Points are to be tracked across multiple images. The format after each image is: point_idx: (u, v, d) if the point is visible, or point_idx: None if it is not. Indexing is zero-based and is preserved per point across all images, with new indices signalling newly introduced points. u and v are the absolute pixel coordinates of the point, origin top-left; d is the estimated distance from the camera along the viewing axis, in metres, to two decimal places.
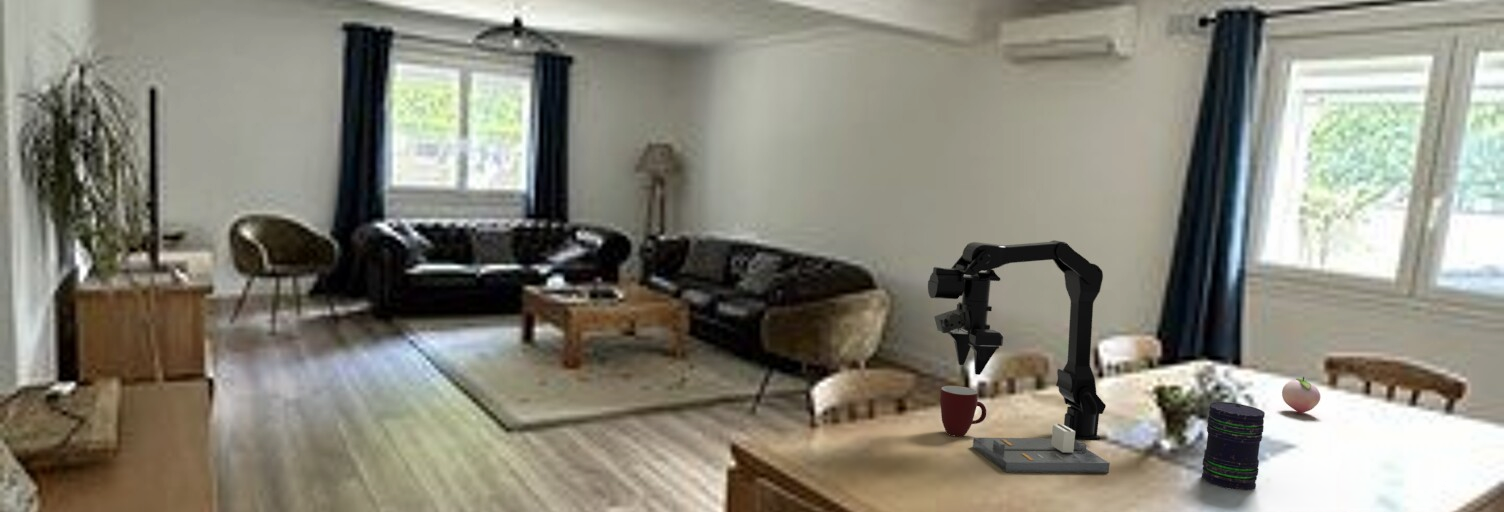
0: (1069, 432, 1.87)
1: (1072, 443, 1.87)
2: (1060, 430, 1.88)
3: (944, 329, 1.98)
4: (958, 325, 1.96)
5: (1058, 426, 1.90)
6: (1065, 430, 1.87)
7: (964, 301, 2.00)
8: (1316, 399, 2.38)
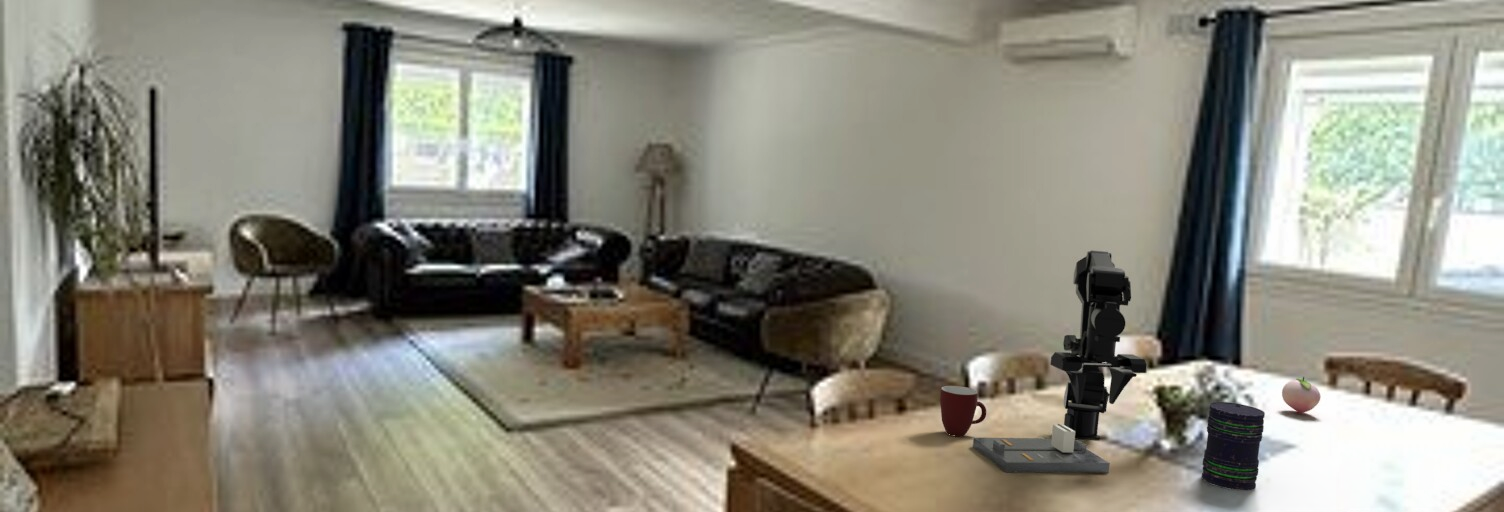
0: (1069, 432, 1.87)
1: (1072, 443, 1.87)
2: (1060, 430, 1.88)
3: None
4: (1068, 347, 1.93)
5: (1058, 426, 1.90)
6: (1065, 430, 1.87)
7: None
8: (1316, 399, 2.38)
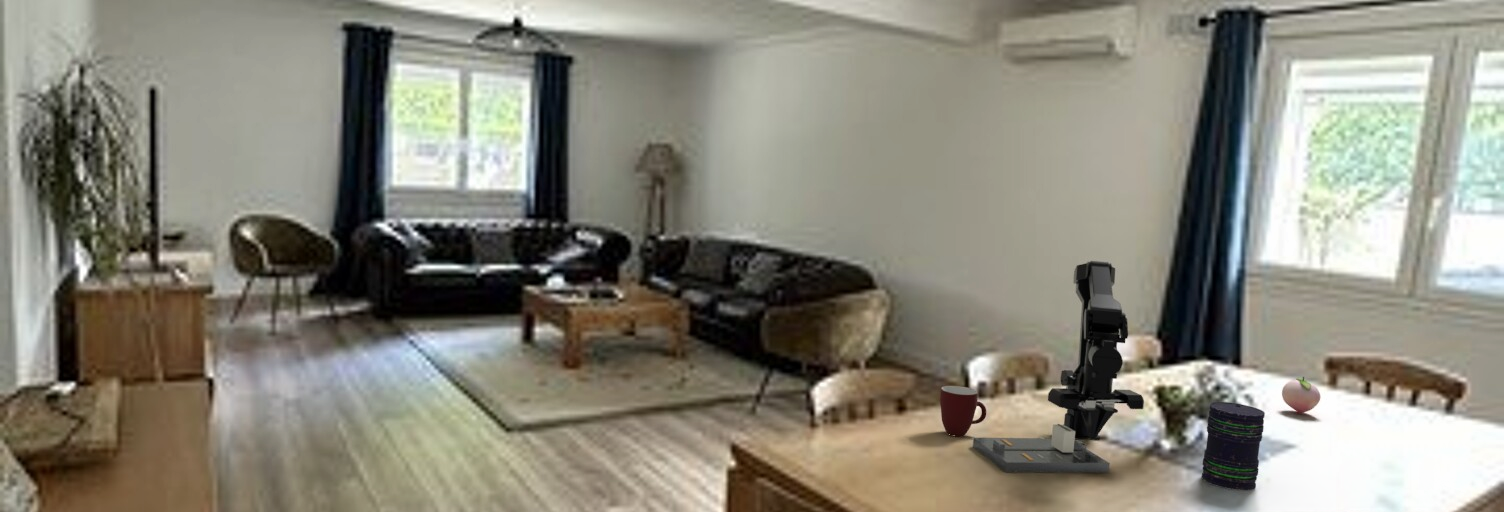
0: (1069, 432, 1.87)
1: (1072, 443, 1.87)
2: (1060, 430, 1.88)
3: None
4: (1065, 382, 1.94)
5: (1058, 426, 1.90)
6: (1065, 430, 1.87)
7: None
8: (1316, 399, 2.38)
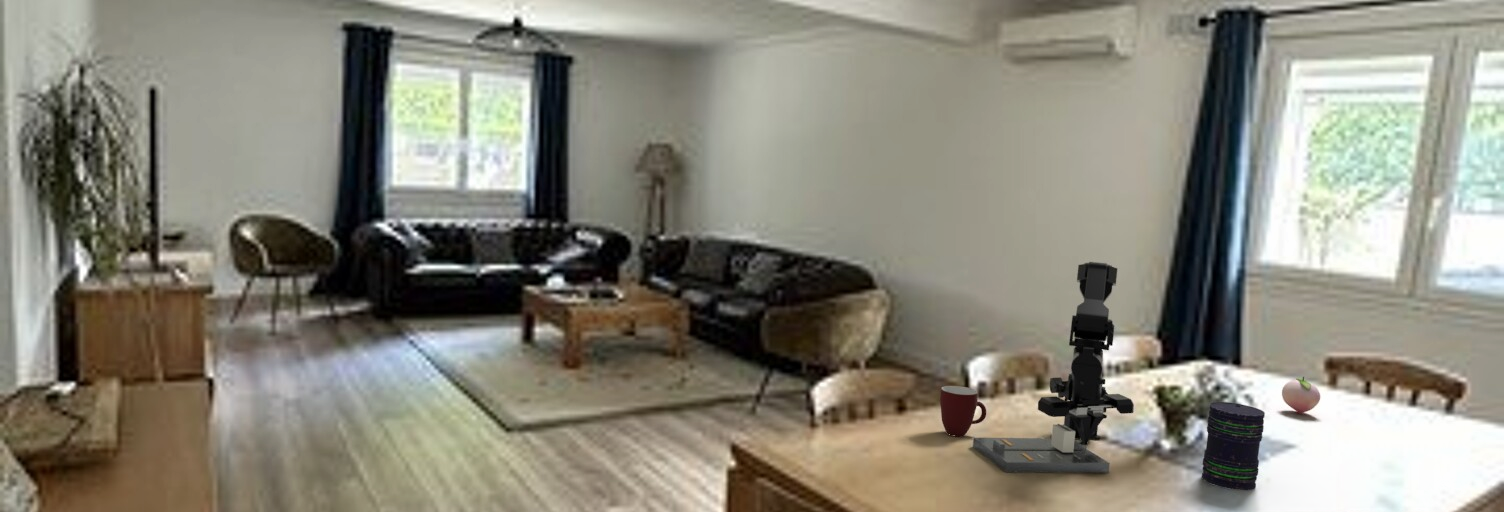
0: (1069, 432, 1.87)
1: (1072, 443, 1.87)
2: (1060, 430, 1.88)
3: None
4: (1054, 390, 1.93)
5: (1058, 426, 1.90)
6: (1065, 430, 1.87)
7: None
8: (1316, 399, 2.38)
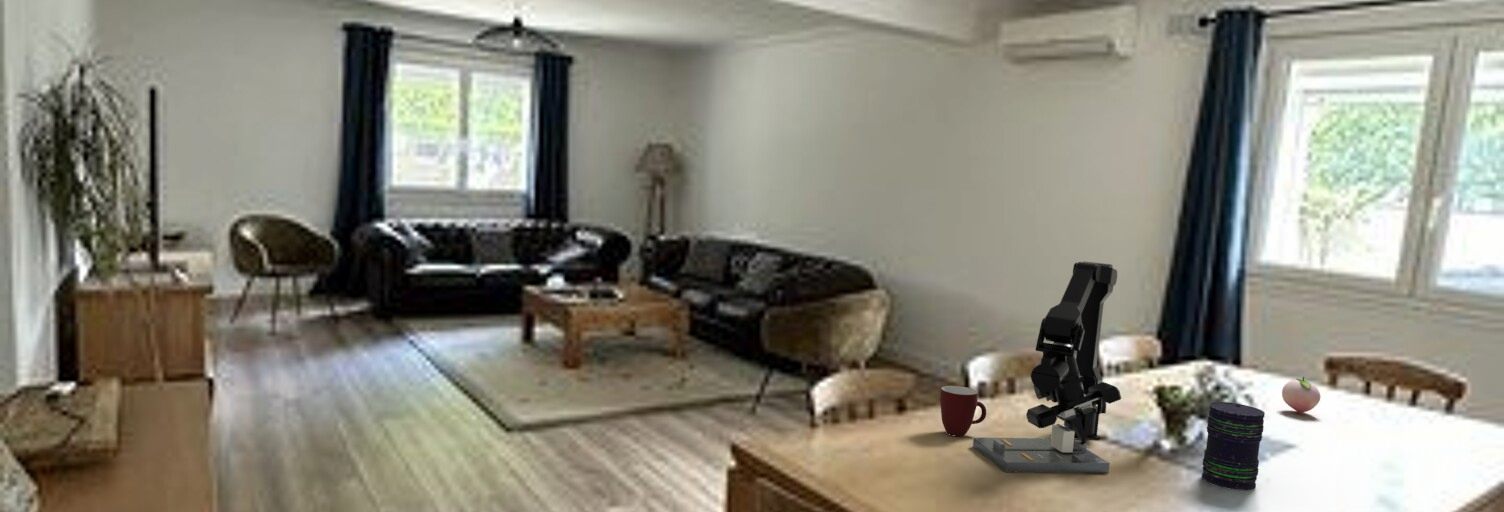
0: (1068, 432, 1.87)
1: (1071, 443, 1.87)
2: (1059, 430, 1.88)
3: None
4: (1040, 396, 1.94)
5: (1057, 426, 1.90)
6: (1064, 430, 1.87)
7: None
8: (1316, 399, 2.38)
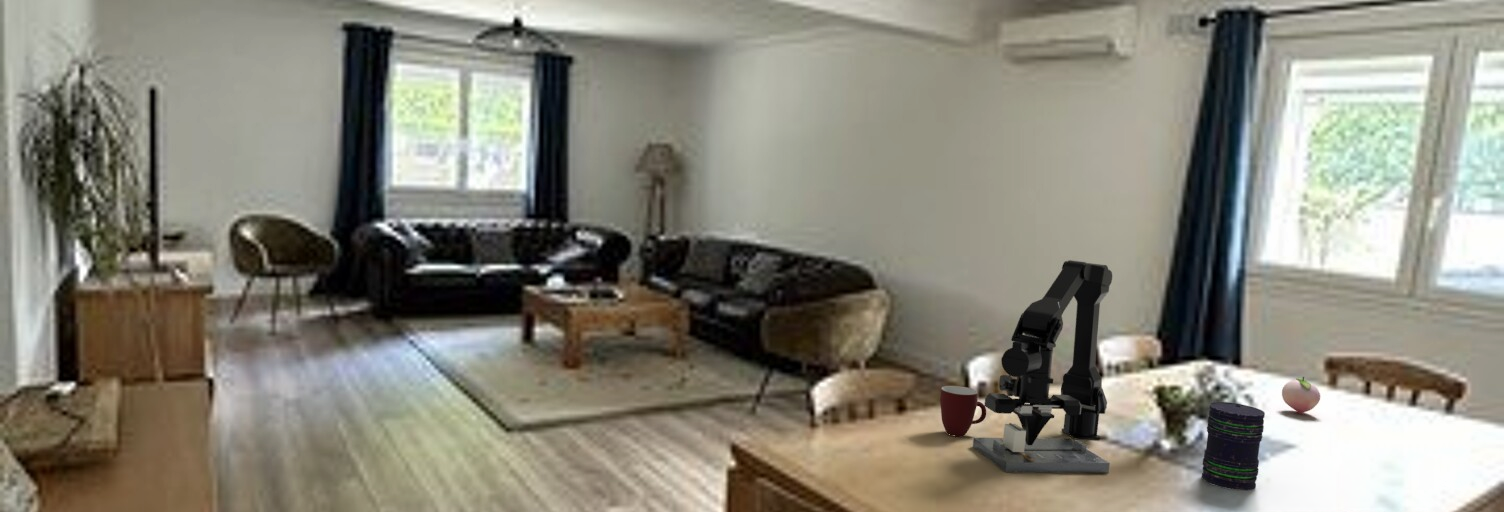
0: (1020, 431, 1.85)
1: (1023, 443, 1.85)
2: (1011, 430, 1.86)
3: None
4: (1003, 387, 1.91)
5: (1009, 425, 1.88)
6: (1016, 429, 1.85)
7: None
8: (1316, 399, 2.38)
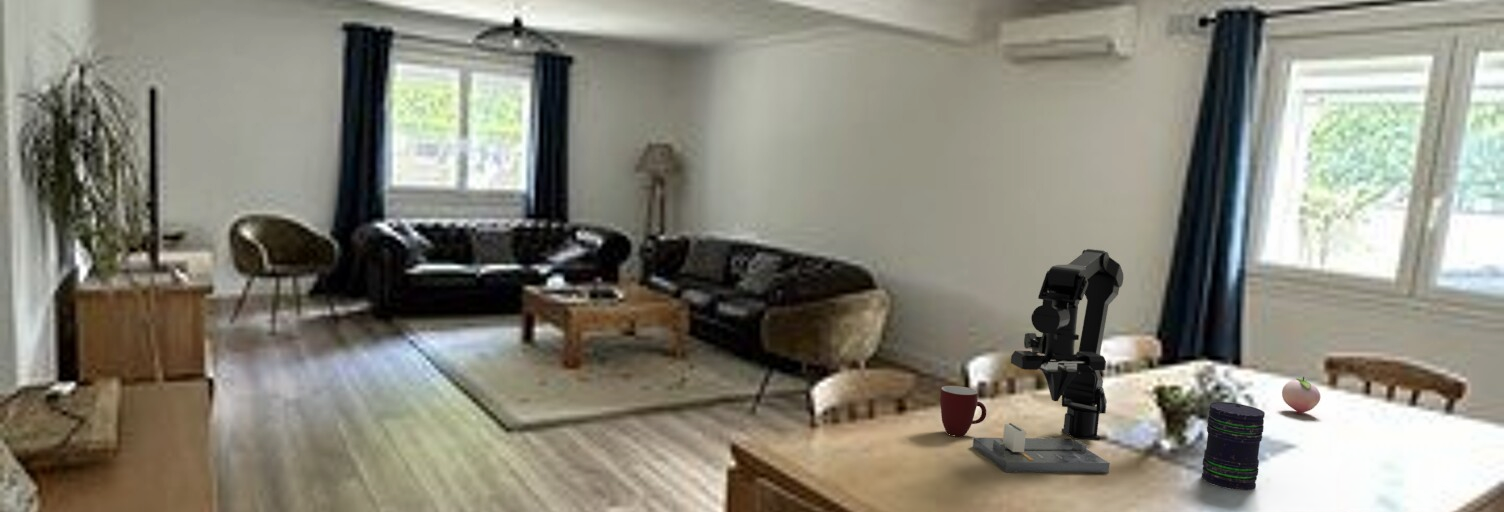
0: (1019, 431, 1.85)
1: (1023, 443, 1.85)
2: (1010, 430, 1.86)
3: None
4: (1028, 345, 1.94)
5: (1009, 425, 1.88)
6: (1016, 429, 1.85)
7: None
8: (1316, 399, 2.38)
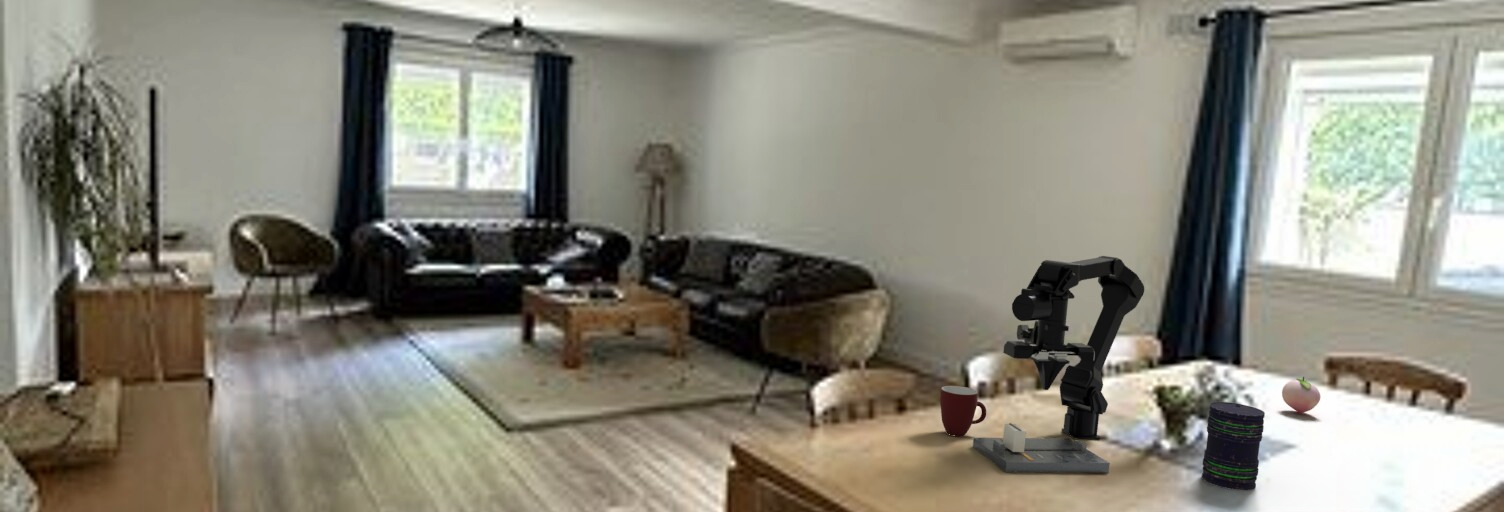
0: (1019, 431, 1.85)
1: (1023, 443, 1.85)
2: (1010, 430, 1.86)
3: None
4: (1020, 336, 2.03)
5: (1009, 425, 1.88)
6: (1016, 429, 1.85)
7: None
8: (1316, 399, 2.38)
